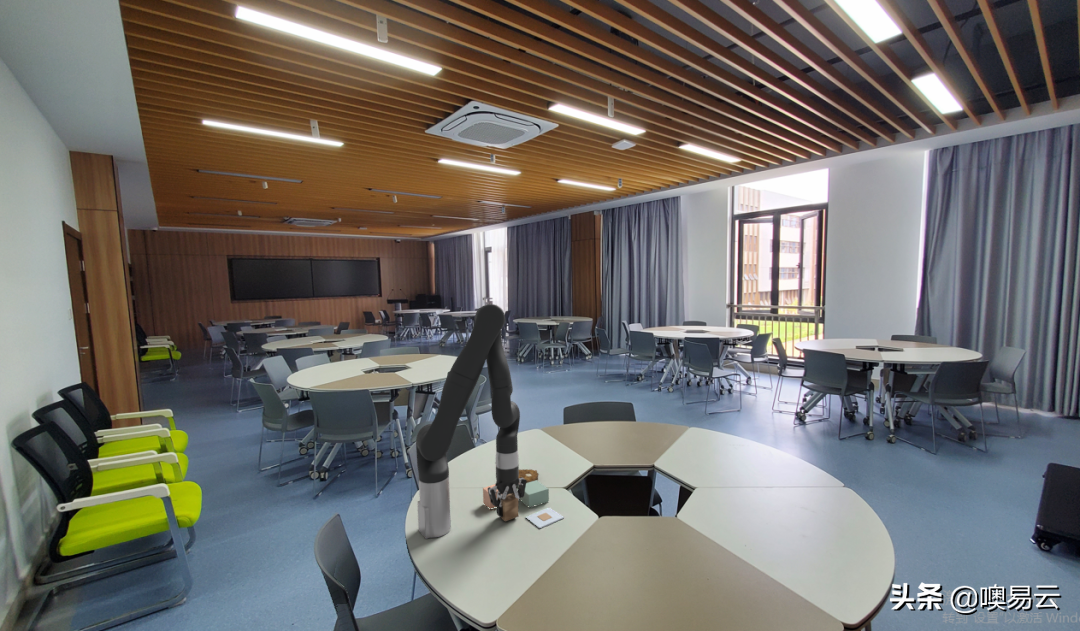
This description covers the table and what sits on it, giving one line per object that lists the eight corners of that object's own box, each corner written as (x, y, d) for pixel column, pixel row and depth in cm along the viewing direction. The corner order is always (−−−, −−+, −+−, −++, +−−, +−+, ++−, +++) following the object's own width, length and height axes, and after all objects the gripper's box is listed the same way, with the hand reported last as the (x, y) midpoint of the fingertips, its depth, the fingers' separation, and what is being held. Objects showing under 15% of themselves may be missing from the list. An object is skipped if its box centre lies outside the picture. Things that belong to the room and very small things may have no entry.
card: (539, 528, 137) (539, 527, 137) (525, 518, 143) (525, 516, 143) (564, 518, 143) (564, 516, 143) (549, 508, 149) (549, 506, 149)
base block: (529, 508, 150) (528, 494, 149) (518, 499, 156) (517, 485, 156) (548, 502, 154) (548, 488, 153) (537, 493, 161) (537, 480, 160)
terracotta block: (490, 510, 149) (490, 493, 148) (483, 504, 153) (482, 488, 152) (503, 505, 152) (502, 489, 151) (495, 500, 156) (495, 483, 155)
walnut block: (505, 521, 140) (504, 503, 140) (497, 514, 144) (497, 497, 144) (518, 516, 143) (518, 498, 142) (510, 510, 147) (510, 492, 147)
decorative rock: (498, 489, 165) (538, 490, 165) (498, 478, 165) (538, 479, 164) (501, 474, 177) (538, 475, 176) (501, 464, 176) (538, 465, 176)
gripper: (493, 473, 135) (494, 525, 136) (531, 461, 143) (532, 511, 145) (482, 465, 141) (483, 515, 142) (519, 454, 149) (520, 502, 151)
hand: (507, 513), depth 143 cm, fingers closed on walnut block, 5 cm apart
